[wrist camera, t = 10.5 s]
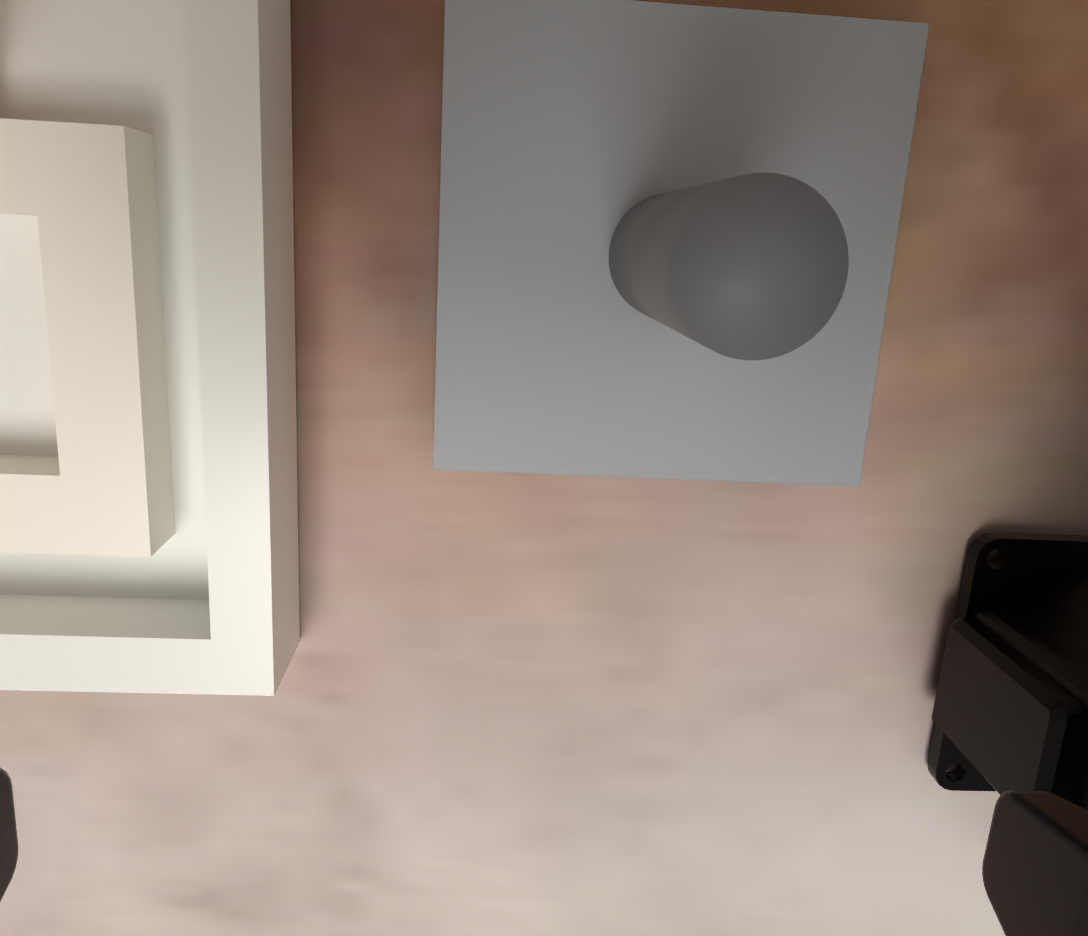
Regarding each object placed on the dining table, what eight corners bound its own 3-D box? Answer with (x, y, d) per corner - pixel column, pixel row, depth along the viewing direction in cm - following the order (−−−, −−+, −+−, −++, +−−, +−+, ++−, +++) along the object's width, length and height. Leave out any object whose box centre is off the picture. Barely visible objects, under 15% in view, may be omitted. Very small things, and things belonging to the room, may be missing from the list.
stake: (900, 36, 18) (1166, -91, 11) (837, 471, 20) (1022, 599, 13) (448, 2, 17) (418, -156, 10) (436, 455, 19) (406, 580, 12)
